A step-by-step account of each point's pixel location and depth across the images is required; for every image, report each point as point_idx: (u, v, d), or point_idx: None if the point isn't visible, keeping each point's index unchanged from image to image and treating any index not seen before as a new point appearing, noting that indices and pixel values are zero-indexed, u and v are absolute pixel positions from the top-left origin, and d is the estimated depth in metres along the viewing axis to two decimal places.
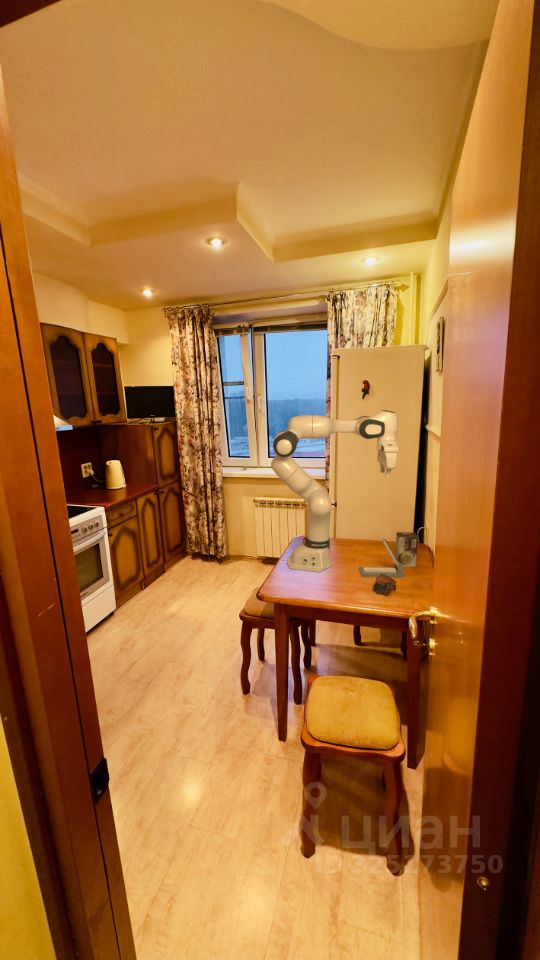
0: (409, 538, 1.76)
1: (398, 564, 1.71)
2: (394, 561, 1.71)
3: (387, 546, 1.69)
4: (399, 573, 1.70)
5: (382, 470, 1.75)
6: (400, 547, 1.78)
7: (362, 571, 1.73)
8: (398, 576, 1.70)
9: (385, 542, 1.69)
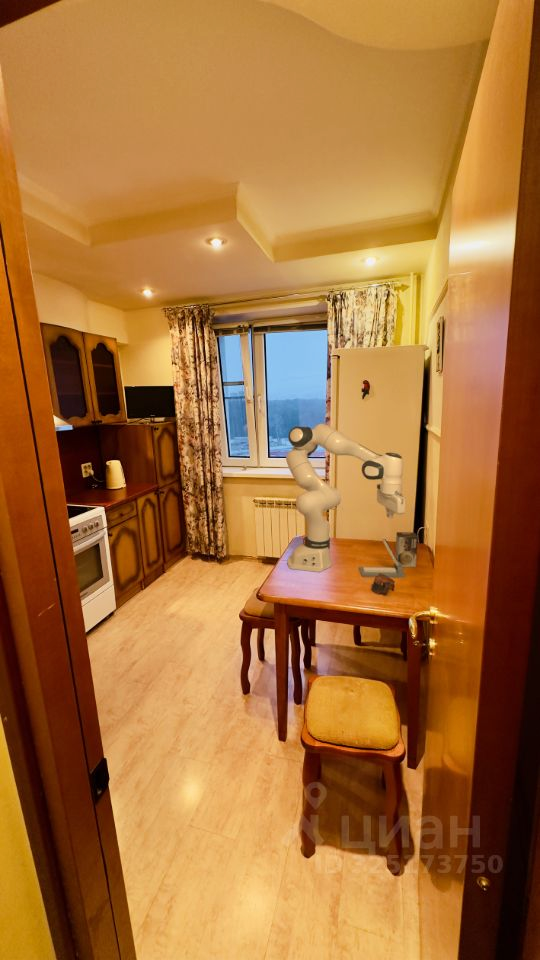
0: (409, 538, 1.76)
1: (398, 564, 1.71)
2: (394, 561, 1.71)
3: (387, 546, 1.69)
4: (399, 573, 1.70)
5: None
6: (400, 547, 1.78)
7: (362, 571, 1.73)
8: (398, 576, 1.70)
9: (385, 542, 1.69)
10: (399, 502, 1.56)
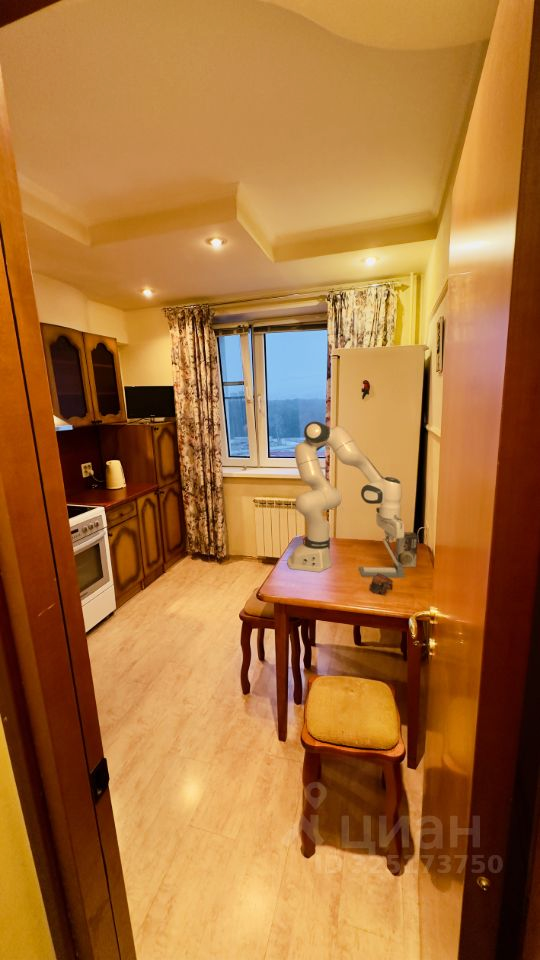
0: (409, 538, 1.76)
1: (398, 564, 1.71)
2: (394, 561, 1.71)
3: (387, 546, 1.69)
4: (399, 573, 1.70)
5: None
6: (400, 547, 1.78)
7: (362, 571, 1.73)
8: (398, 576, 1.70)
9: (385, 542, 1.69)
10: (398, 527, 1.58)
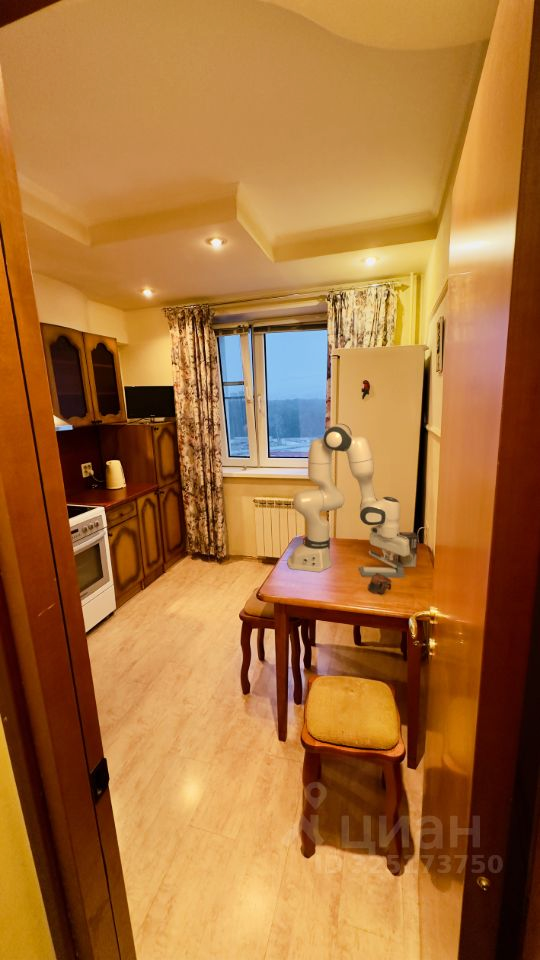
0: (409, 538, 1.76)
1: (396, 565, 1.71)
2: None
3: (375, 556, 1.71)
4: (399, 573, 1.70)
5: None
6: None
7: (362, 571, 1.73)
8: (398, 576, 1.70)
9: (371, 554, 1.71)
10: (405, 545, 1.62)
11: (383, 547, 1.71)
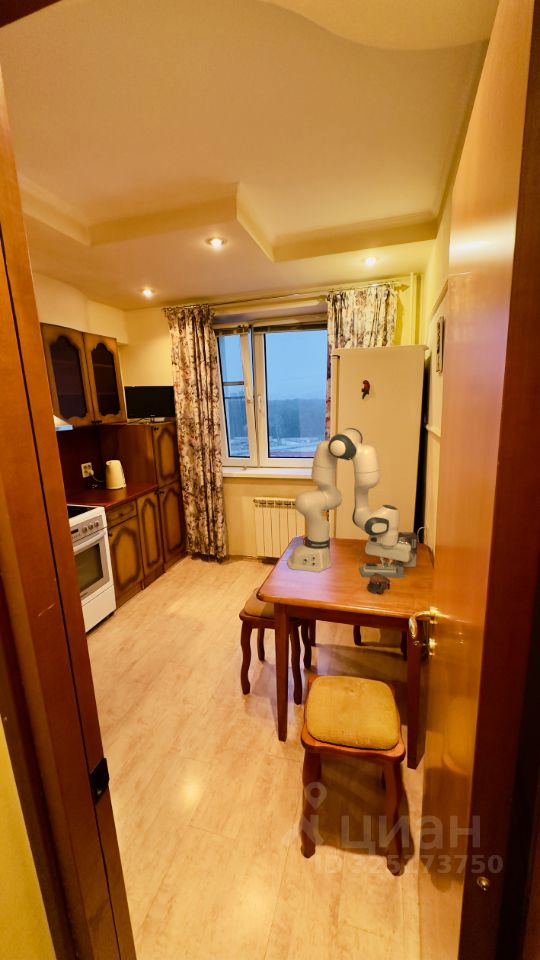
0: (409, 538, 1.76)
1: (394, 567, 1.71)
2: None
3: (372, 567, 1.72)
4: (399, 573, 1.70)
5: None
6: None
7: (362, 571, 1.73)
8: (398, 576, 1.70)
9: (367, 566, 1.72)
10: (408, 551, 1.65)
11: (382, 555, 1.71)
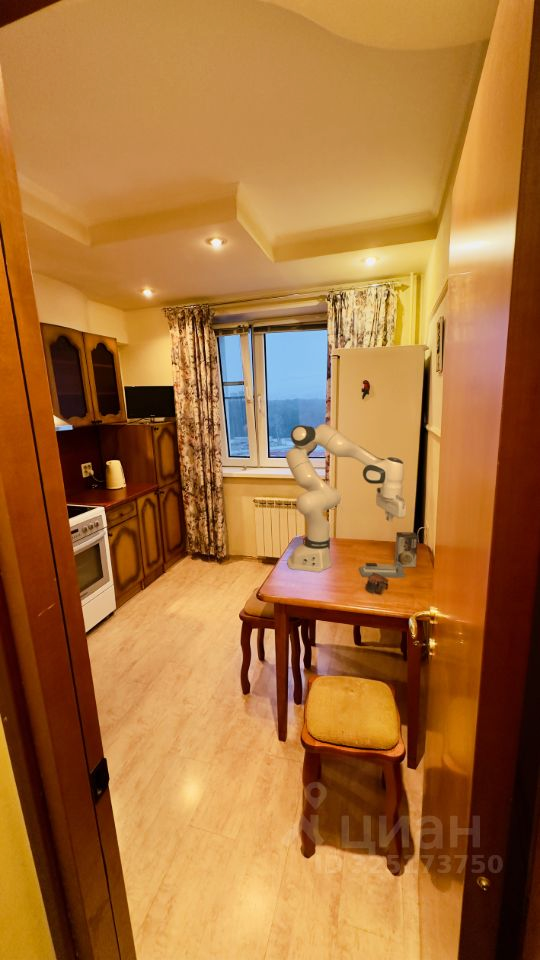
0: (409, 538, 1.76)
1: (394, 567, 1.71)
2: None
3: (372, 567, 1.72)
4: (399, 573, 1.70)
5: None
6: (400, 547, 1.78)
7: (362, 571, 1.73)
8: (398, 576, 1.70)
9: (367, 566, 1.72)
10: (400, 507, 1.59)
11: (384, 508, 1.71)
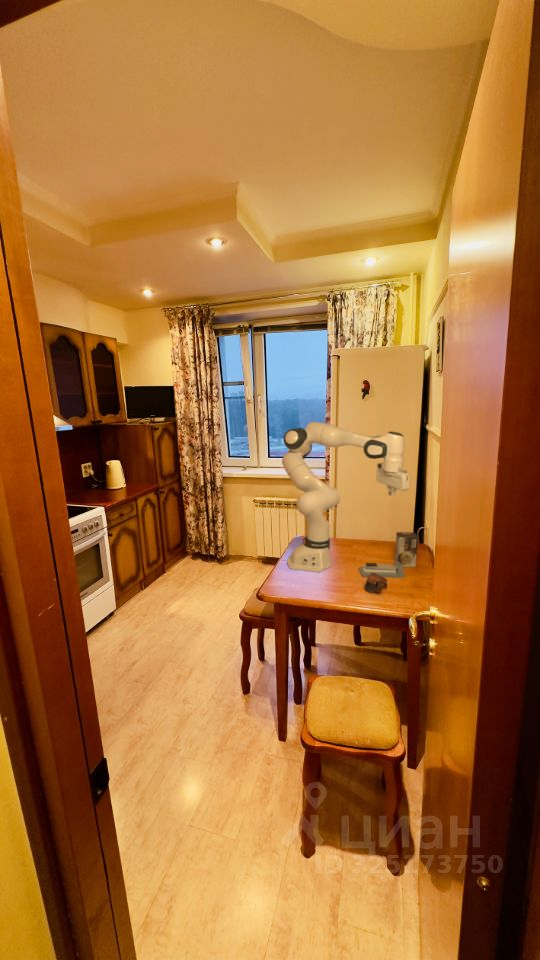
0: (409, 538, 1.76)
1: (394, 567, 1.71)
2: None
3: (372, 567, 1.72)
4: (399, 573, 1.70)
5: None
6: (400, 547, 1.78)
7: (362, 571, 1.73)
8: (398, 576, 1.70)
9: (367, 566, 1.72)
10: (404, 479, 1.60)
11: (386, 483, 1.72)
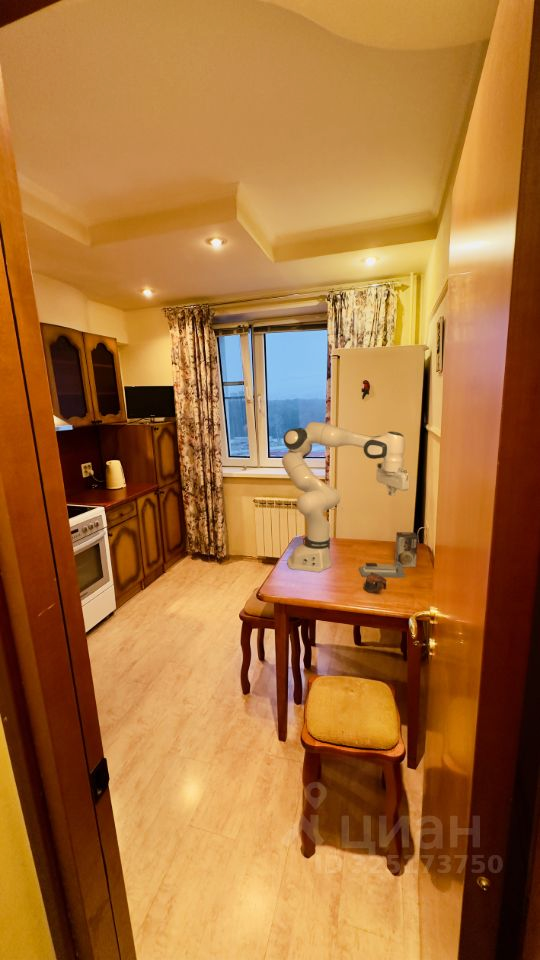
0: (409, 538, 1.76)
1: (394, 567, 1.71)
2: None
3: (372, 567, 1.72)
4: (399, 573, 1.70)
5: None
6: (400, 547, 1.78)
7: (362, 571, 1.73)
8: (398, 576, 1.70)
9: (367, 566, 1.72)
10: (404, 479, 1.60)
11: (386, 483, 1.72)
